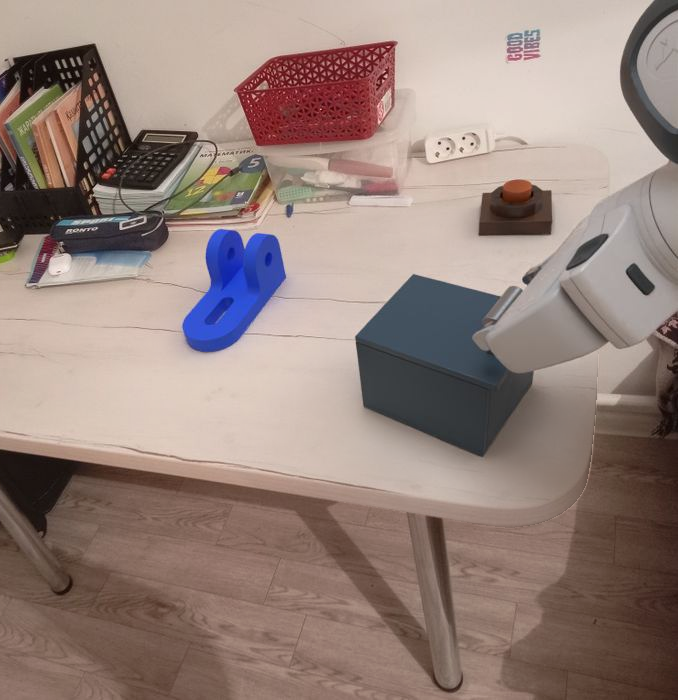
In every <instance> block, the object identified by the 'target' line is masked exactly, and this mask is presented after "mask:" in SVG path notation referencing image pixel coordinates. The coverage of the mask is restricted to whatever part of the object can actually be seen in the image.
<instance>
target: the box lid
mask: <svg viewBox="0 0 678 700" xmlns="http://www.w3.org/2000/svg"><path fill="white" fill-rule="evenodd" d="M523 290H524V289H522V288H521V287H519V286H517V285H510V286H508V287H507V288H506V289H505V291H504V292H503V294H502V295H496V294H493V293H489V292H485V291H481V290H477V289H474V288H469V287H465V286H463V285H458V284H454V283H450V282H446V281H442V280H439V279H434V278H432V277H427V276H423V275H419V274H415V273H412V274H411V275H410V277H409V278H408V279H407V280H406V281H405V282H404V283H403V284H402V285H401V286H400V288H399V289H398V290H397V291H396V292H395V293H394V294H393V295H392V296H391V297H390V298H389V299H388V300H387V301H386V303H384V305H382V307H381V308H380V309H379V310H378V311H377V312H376V313H375V314H374V315H373V316H372V317H371V319H370V320H368V322H367V323H365V325H364V326H363V327H362V328H361V329H360V330H359V332H357V333H356V334H355V336H354V339H355V343H356V342H358V343H361V344H363V345H366V346H369V347H372V348H375V349H377V350H380V351H383V352H386V353H389V354H392V355H394V356H397V357H400V358H403V359H406V360H408V361H411V362H414V363H417V364H420V365H422V366H425V367H428V368H431V369H434V370H437V371H439V372H442V373H445V374H448V375H451V376H453V377H456V378H459V379H462V380H465V381H468V382H470V383H473V384H476V385H479V386H482V387H484V388H487V389H490V390H493V391H497V389H498V388H499V387H500V385H501V384H502V382H503V381H504V380H505V378H506V377H507V375H508V374H509V373H510V370H508V369H507V368H506V367H505V366H504V365H503V364H502V363H501V362H500V361H499V360H498V359H497V358H496V357H495V356H494V354H493V353H492V352H491V350H488V351H484V350H482V349H480V348H479V346H478V345H477V344H476V343H475V342H474V341H473V338H472V337H473V335H474V334H475V333H476V332H477V330H478V329H479V328H480V327H481V326H482V325H486V324H487V323H489V322H491V321H494V322H495V323H497V321H498V320H499V319H500V318H501V317H502V315H503V314H504V313H505V312H506V311H507V309H508V308H509V307H510V306H511V305H512V303H513V302H514V301H515V300H516V299H517V297H518V296H519V295H520V294H521V293H522V291H523Z"/></svg>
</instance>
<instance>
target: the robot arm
mask: <svg viewBox="0 0 678 700" xmlns="http://www.w3.org/2000/svg"><path fill="white" fill-rule="evenodd" d="M620 60H621V61H620V66H619V83H620V89H621V92H622V97H623V99H624V101H625V104H626V105H627V106H628V108H629V110H630V112H631V113H632V115H633V116H634V118H635V119H636V122H637V123H638V124H639V125H640V127H641V129H642V130H643V132H644V133H645V135H646V136H647V137H648V139H649V140H650V141H651V143H652V144H653V145H654V146H655V147H656V149H657V150H658V151H659V153H661V154H662V155H663V156H664V157H665V158H666V159H668V162H667V163H665V164H663V165H661V166H660V167H658V168H656V169H654V170H653V171H651V172H650V173H647V174H646V175H644V176H642V177H640V178H639V179H637V180H635V181H633V182H632V183H630V184H628V185H626V186H624V187H622V188H620V189H618V190H617V191H615V192H613V193H612V194H610V195H608V196H606V197H604V198H603V199H601V200H600V201H598V202H597V203H596V204H595V205H594V207H593V208H592V210H591V212H590V213H589V214H588V215H586V216H585V217H584V218H583V219H582V220H581V221H579V223H578V224H577V225H576V227H575V228H574V229H573V230H572V231H571V232H570V234H569V235H568V237H567V238H566V239H565V240H564V241H563V242H562V244H560V246H559V247H558V248H557V249H556V251H555V252H553V253H552V254H550V255H549V256H548V257H547V258H545V259H544V260H543V261H542V262H540V263H538V264H536V265H534V266H531V267H530V268H529V269H528V270H527V271H526V273H525V274H524V275H523V276H522V279H521V281H522V283H523V284H524V285H526V286H525V288H524V289H522V290H523V291H522V293H521V294H520V295H519V296H518V297H517V299H516V300H515V301H514V302H513V303H512V305H511V306H510V307H509V308H508V309H507V311H506V312H505V313H504V314H503V315H502V317H501V318H500V319H499V320H498V321H497V323H495V322H494V321H491V322H489V323H487V324H486V325H482V326H481V327H480V328H479V329H478V330H477V332H476V333H475V334H474V335H473V337H472V338H473V341H474V342H475V343H476V344H477V345H478V346H479V348H480V349H482V350H484V351H488V350H491V352H492V353H493V354H494V356H495V357H496V358H497V359H498V360H499V361H500V362H501V363H502V364H503V365H504V366H505V367H506V368H507V369H508V370H510V371H512V372H514V373H527V372H531V371H534V372H535V371H539V370H543V369H548V368H551V367H554V366H557V365H561V364H563V363H567V362H571V361H573V360H574V361H575V360H576V359H580V358H582V357H584V356H588V355H590V354H591V353H594V352H596V351H598V350H599V349H601V348H603V347H604V346H606V345H607V344H608V343H610V344H611V345H612V346H613V347H614V348H615V349H617V350H622V349H627V348H631V347H634V346H636V345H639V344H641V343H643V342H644V341H646V340H647V339H648V338H650V337H651V336H652V335H653V334H654V332H656V331H657V330H658V329H659V328H660V327H661V326H662V325H663V324H664V323H666V321H668V320H669V319H670V318H672V317H673V315H675V314H676V313H677V312H678V0H653V1H652V2H651V3H649V5H648V6H647V8H646V9H645V10H644V11H643V12H642V14H641V15H640V17H639V18H638V20H637V21H636V23H635V24H634V26H633V28H632V30H631V31H630V33H629V36H628V38H627V40H626V42H625V45H624V48H623V51H622V55H621V59H620Z"/></svg>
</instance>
